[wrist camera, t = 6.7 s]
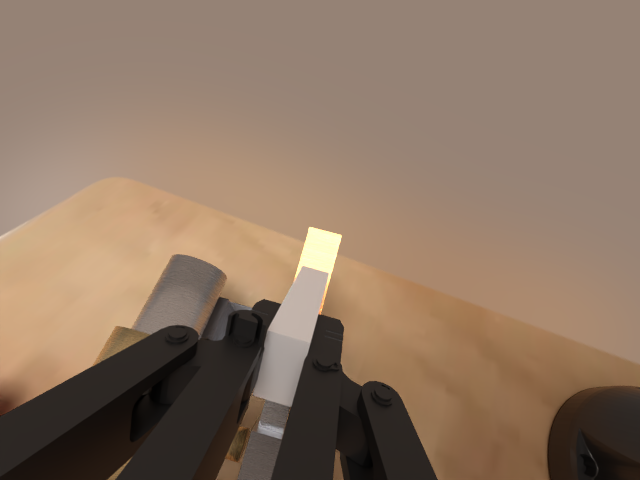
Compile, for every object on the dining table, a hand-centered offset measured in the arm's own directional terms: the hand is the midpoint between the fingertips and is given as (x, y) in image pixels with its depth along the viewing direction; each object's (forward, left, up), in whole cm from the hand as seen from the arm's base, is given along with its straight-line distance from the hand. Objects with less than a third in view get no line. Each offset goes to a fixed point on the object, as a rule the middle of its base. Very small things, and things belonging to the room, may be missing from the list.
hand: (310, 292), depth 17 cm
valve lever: (-7, +6, -5) cm, 10 cm away
